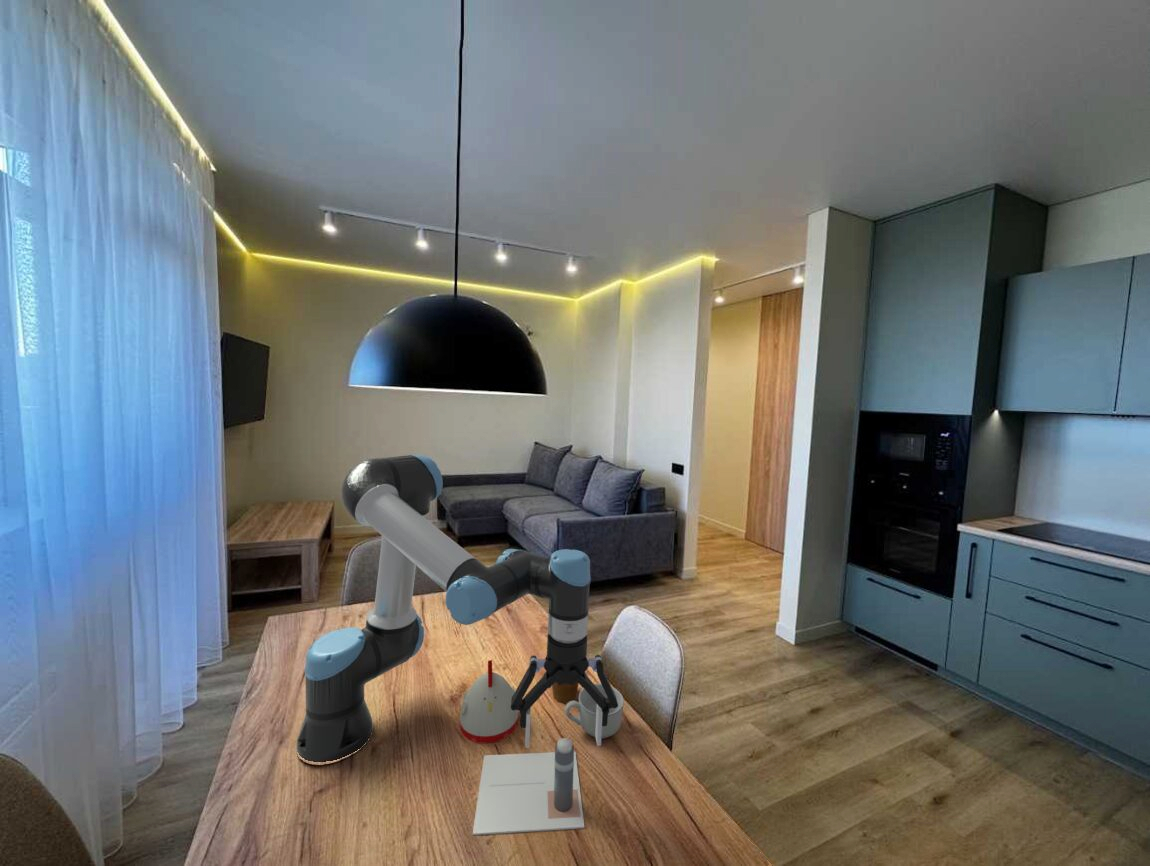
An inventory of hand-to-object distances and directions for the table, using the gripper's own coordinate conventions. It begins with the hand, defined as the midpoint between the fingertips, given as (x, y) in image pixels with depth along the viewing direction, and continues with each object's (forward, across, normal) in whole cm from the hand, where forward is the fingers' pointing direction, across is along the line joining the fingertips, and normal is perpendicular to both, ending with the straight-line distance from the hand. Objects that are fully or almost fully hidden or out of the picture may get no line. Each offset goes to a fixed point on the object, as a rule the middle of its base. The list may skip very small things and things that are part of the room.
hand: (562, 741), depth 85 cm
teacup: (+13, +9, +20) cm, 25 cm away
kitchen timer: (+13, -16, +24) cm, 31 cm away
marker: (+12, 0, 0) cm, 12 cm away
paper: (+13, -6, +4) cm, 14 cm away
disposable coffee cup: (+13, +3, +33) cm, 35 cm away
